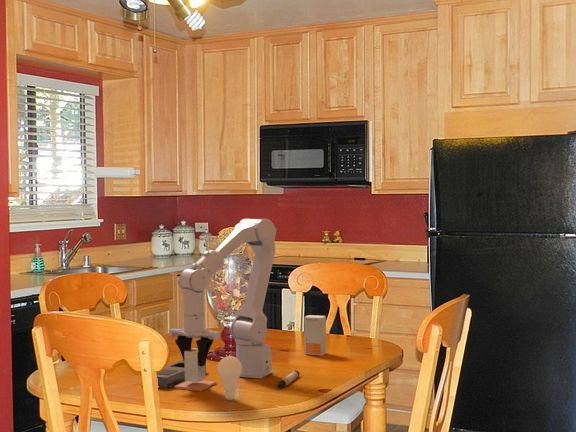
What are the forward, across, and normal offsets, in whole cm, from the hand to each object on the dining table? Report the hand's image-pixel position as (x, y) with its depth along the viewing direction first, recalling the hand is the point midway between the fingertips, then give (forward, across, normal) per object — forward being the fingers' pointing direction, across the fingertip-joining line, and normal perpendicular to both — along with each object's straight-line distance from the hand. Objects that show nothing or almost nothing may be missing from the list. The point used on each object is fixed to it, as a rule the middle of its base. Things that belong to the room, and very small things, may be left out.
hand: (194, 365), depth 209 cm
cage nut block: (+4, 0, 0) cm, 4 cm away
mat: (+6, 0, 0) cm, 6 cm away
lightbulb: (+6, +16, -9) cm, 19 cm away
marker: (+6, +22, +12) cm, 25 cm away
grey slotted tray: (+6, -10, +5) cm, 12 cm away
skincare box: (+6, +14, +49) cm, 51 cm away
